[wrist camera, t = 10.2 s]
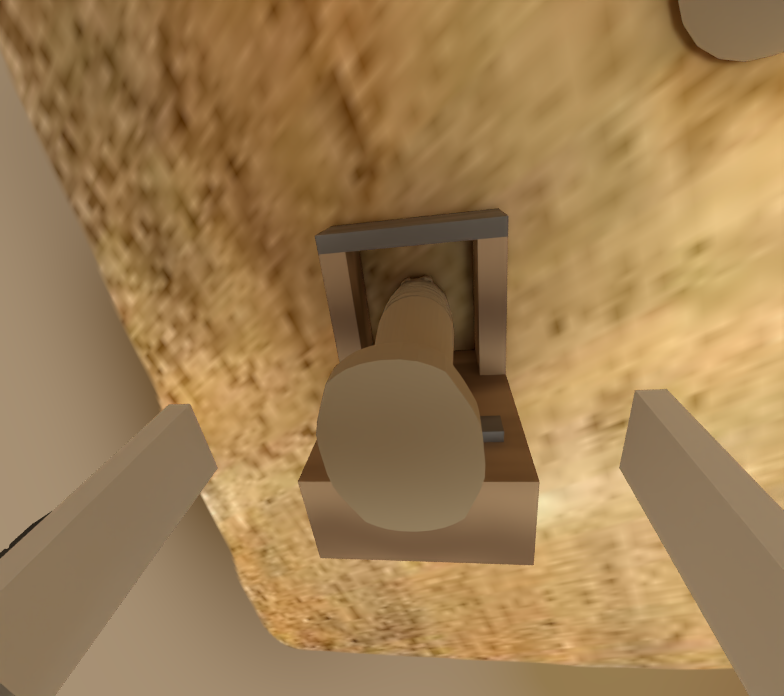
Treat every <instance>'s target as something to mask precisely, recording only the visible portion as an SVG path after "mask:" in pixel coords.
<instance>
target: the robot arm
mask: <svg viewBox="0 0 784 696" xmlns="http://www.w3.org/2000/svg"><path fill="white" fill-rule="evenodd" d="M619 468H620V470H621V472H622V473H623V475H624V477H625V479H626V480H627V482H628V484H629V486H630V487H631V489H632V491H633V493H634V494H635V496H636V498H637V500H638V501H639V503H640V505H641V507H642V508H643V510H644V512H645V514H646V515H647V517H648V519H649V521H650V522H651V524H652V526H653V528H654V529H655V531H656V533H657V535H658V536H659V538H660V540H661V542H662V544H663V545H664V547H665V549H666V551H667V552H668V554H669V556H670V558H671V559H672V561H673V563H674V565H675V566H676V568H677V570H678V572H679V573H680V575H681V577H682V579H683V580H684V582H685V584H686V586H687V587H688V589H689V591H690V593H691V594H692V596H693V598H694V600H695V601H696V603H697V605H698V607H699V608H700V610H701V612H702V614H703V615H704V617H705V619H706V621H707V623H708V624H709V626H710V628H711V630H712V631H713V633H714V635H715V637H716V638H717V640H718V642H719V644H720V645H721V647H722V649H723V651H724V652H725V654H726V656H727V658H728V659H729V661H730V663H731V665H732V666H733V668H734V670H735V672H736V673H737V675H738V677H739V679H740V680H741V682H742V684H743V686H744V687H745V689H746V691H747V693H748V694H749V696H784V510H783V509H782V508H781V507H780V506H779V505H778V504H777V503H776V502H775V501H774V500H773V499H772V498H771V497H770V496H769V495H768V494H767V493H766V492H765V491H764V490H763V489H762V488H761V486H760V485H759V484H758V483H757V482H756V481H755V480H754V479H753V478H752V477H751V476H750V475H749V474H748V473H747V472H746V471H745V470H744V469H743V468H742V467H741V466H740V465H739V464H738V463H737V462H736V461H735V459H734V458H733V457H732V456H731V455H730V454H729V453H728V452H727V451H726V450H725V449H724V448H723V447H722V446H721V445H720V444H719V443H718V442H717V441H716V440H715V439H714V438H713V437H712V436H711V435H710V434H709V433H708V431H707V430H706V429H705V428H704V427H703V426H702V425H701V424H700V423H699V422H698V421H697V420H696V419H695V418H694V417H693V416H692V415H691V414H690V413H689V412H688V411H687V410H686V409H685V408H684V407H683V406H682V404H681V403H680V402H679V401H678V400H677V399H676V398H675V397H674V396H673V395H672V394H671V393H670V392H669V391H668V390H667V389H660V390H635V393H634V398H633V403H632V408H631V413H630V418H629V423H628V428H627V433H626V438H625V443H624V447H623V452H622V457H621V462H620V467H619ZM217 469H218V467H217V465H216V463H215V461H214V458H213V456H212V454H211V451H210V449H209V447H208V444H207V442H206V440H205V437H204V435H203V433H202V430H201V428H200V426H199V423H198V421H197V419H196V416H195V414H194V412H193V409H192V407H191V405H190V404H171V405H168V406H167V407H166V408H165V409H163V410H162V411H161V412H160V413H159V414H158V415H157V416H156V417H155V418H154V419H152V420H151V421H150V422H149V423H148V424H147V425H146V426H145V427H144V428H143V429H142V430H141V431H139V432H138V433H137V434H136V435H135V436H134V437H133V438H132V439H131V440H130V441H128V442H127V443H126V444H125V445H124V446H123V447H122V448H121V449H120V450H119V451H118V452H116V453H115V454H114V455H113V456H112V457H111V458H110V459H109V460H108V461H107V462H105V463H104V464H103V465H102V466H101V467H100V468H99V469H98V470H97V471H96V472H95V473H93V474H92V475H91V476H90V477H89V478H88V479H87V480H86V481H85V482H84V483H83V484H81V485H80V486H79V487H78V488H77V489H76V490H75V491H74V492H73V493H72V494H71V495H69V496H68V497H67V498H66V499H65V500H64V501H63V502H62V503H61V504H60V505H58V506H57V507H56V508H55V509H54V510H53V511H51V512H50V513H48V514H47V515H45V516H44V517H42V518H41V519H39V520H38V521H36V522H35V523H33V524H32V525H31V526H30V527H29V528H27V529H26V530H25V531H24V532H23V533H22V534H21V535H20V536H18V537H17V538H16V539H15V540H14V541H13V542H12V543H11V544H10V545H9V548H8V549H4V550H3V551H2V552H1V553H0V696H55V695H56V694H57V692H58V691H59V690H60V688H61V687H62V685H63V683H65V681H66V680H67V678H68V677H69V676H70V674H71V673H72V671H73V670H74V669H75V667H76V666H77V664H78V663H79V662H80V660H81V659H82V657H83V656H84V655H85V653H86V652H87V650H88V649H89V648H90V646H91V645H92V643H93V642H94V641H95V639H96V638H97V636H98V635H99V634H100V632H101V631H102V629H103V628H104V627H105V625H106V624H107V622H108V621H109V620H110V618H111V617H112V615H113V614H114V613H115V611H116V610H117V608H118V607H119V605H120V604H121V603H122V601H123V600H124V599H125V597H126V596H127V594H128V593H129V592H130V590H131V589H132V587H133V586H134V585H135V583H136V582H137V580H138V579H139V578H140V576H141V575H142V573H143V572H144V571H145V569H146V568H147V566H148V565H149V564H150V562H151V561H152V559H153V558H154V557H155V555H156V554H157V552H158V551H159V550H160V548H161V547H162V546H163V544H164V543H165V541H166V540H167V538H168V537H169V536H170V534H171V533H172V532H173V530H174V529H175V527H176V526H177V524H178V523H179V522H180V520H181V519H182V517H183V516H184V515H185V513H186V512H187V511H188V509H189V508H190V506H191V505H192V503H193V502H194V501H195V499H196V498H197V497H198V495H199V494H200V492H201V491H202V490H203V488H204V487H205V485H206V484H207V483H208V481H209V480H210V478H211V477H212V476H213V474H214V473H215V471H216V470H217Z"/></svg>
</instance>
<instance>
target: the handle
mask: <svg viewBox="0 0 784 696" xmlns="http://www.w3.org/2000/svg"><path fill="white" fill-rule="evenodd" d="M453 347H454V328H453V320H452V315H451V311H450V307H449V304H448V301H447V298H446V295H445V293H444V292H443V291H442V290H440V288H439V287H437V286H436V285H435V284H434V283H433V281H432V278H431V277H430V276H427V275H424V276H423V277H421V278H417V279H412V278H406V279H405V280H404V281H402V282H401V284H400V287H399V288H398V289H397V290H396V291H395V292H394V293H393V295H392V296H391V298H390V299H389V301H388V303H387V304H386V306H385V309H384V311H383V314H382V316H381V319H380V321H379V326H378V331H377V336H376V340H375V345H373V346H369V347H366V348H363V349H361V350H358V351H355V352H354V353H352V354H351V355H349V356H348V357H346V358H345V359H343V360H342V361H341V362H340V363H339V364H338V365H336V367H335V368H334V369H333V371H332V373H331V375H330V377H329V379H328V381H327V383H326V385H325V389H324V393H323V398H322V402H321V406H320V410H319V415H318V420H317V430H316V437H317V442H318V447H319V450H320V454H321V457H322V460H323V463H324V466H325V469H326V472H327V475H328V477H329V479H330V481H331V484H332V485H333V487H334V488H335V489H336V491H337V492H338V493H339V495H340V496H341V497H342V498H343V499H344V500H345V501H346V502H347V503H348V505H349V506H350V507H351V508H352V509H353V510H354V511H355V512H356V513H357V514H358V515H359V516H360V517H361V518H362V519H363V520H364V521H365V522H367V523H370V524H372V525H375V526H378V527H381V528H385V529H389V530H396V531H411V532H418V531H430V530H436V529H440V528H445V527H448V526H450V525H453V524H455V523H457V522H459V521H461V520H463V519H465V517H466V516H467V514H468V512H469V510H470V508H471V507H472V505H473V503H474V501H475V499H476V497H477V495H478V493H479V492H480V490H481V487H482V484H483V481H484V478H485V455H484V444H483V434H482V426H481V420H480V414H479V409H478V405H477V402H476V400H475V398H474V396H473V395H472V393H471V391H470V390H469V388H468V386H467V384H466V383H465V381H464V380H463V378H462V377H461V375H460V374H459V373H458V371H457V370H456V368H455V367H454V366H453Z"/></svg>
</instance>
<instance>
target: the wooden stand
mask: <svg viewBox="0 0 784 696" xmlns="http://www.w3.org/2000/svg"><path fill="white" fill-rule="evenodd" d="M315 239H316V245H317V250H318V255H319V260H320V265H321V270H322V275H323V280H324V285H325V290H326V296H327V301H328V306H329V311H330V316H331V321H332V326H333V331H334V336H335V342H336V347H337V352H338V357H339V362H341V361H342V360H343V359H345V358H346V357H348V356H349V355H351V354H352V353H354V352H355V351H358V350H361V349H363V348H366V347H369V346H373V339H372V332H371V326H370V319H369V312H368V305H367V299H366V292H365V285H364V279H363V272H362V265H361V259H360V252H359V251H361V250H372V249H382V248H393V247H404V246H414V245H425V244H435V243H446V242H456V241H467V240H473V281H474V326H475V350H460V351H453V366H454V367H455V368H456V370H457V371H458V373H459V374H460V375H461V377H462V378H463V380H464V381H465V383H466V384H467V386H468V388H469V390H470V391H471V393H472V395H473V396H474V398H475V400H476V402H477V405H478V409H479V414H480V420H481V426H482V434H483V444H484V455H485V478H484V481H483V484H482V487H481V490H480V492H479V493H478V495H477V497H476V499H475V501H474V503H473V505H472V507H471V508H470V510H469V512H468V514H467V516H466V517H465V519H463V520H461V521H459V522H457V523H455V524H453V525H450V526H448V527H445V528H440V529H436V530H430V531H418V532H411V531H396V530H389V529H385V528H381V527H378V526H375V525H372V524H370V523H367V522H365V521H364V520H363V519H362V518H361V517H360V516H359V515H358V514H357V513H356V512H355V511H354V510H353V509H352V508H351V507H350V506H349V505H348V503H347V502H346V501H345V500H344V499H343V498H342V497H341V496H340V495H339V493H338V492H337V491H336V489H335V488H334V487H333V485H332V484H331V481H330V479H329V477H328V475H327V472H326V469H325V466H324V463H323V460H322V457H321V454H320V450H319V447H318V442H317V440H316V443H315V445H314V447H313V449H312V451H311V454H310V456H309V458H308V460H307V463H306V465H305V467H304V469H303V471H302V474H301V476H300V478H299V480H298V484H299V487H300V490H301V494H302V497H303V501H304V504H305V507H306V511H307V514H308V518H309V521H310V524H311V528H312V531H313V535H314V538H315V541H316V545H317V548H318V552H319V555H320V558H337V559H366V560H396V561H425V562H454V563H484V564H513V565H534V552H535V538H536V524H537V510H538V496H539V479H538V476H537V473H536V469H535V466H534V463H533V460H532V457H531V453H530V450H529V447H528V444H527V441H526V438H525V434H524V431H523V428H522V425H521V422H520V418H519V415H518V412H517V409H516V406H515V402H514V399H513V396H512V393H511V390H510V387H509V383H508V380H507V377H506V324H507V265H508V215H507V214H505V213H504V212H502V211H501V210H500V209H489V210H480V211H471V212H461V213H452V214H442V215H433V216H424V217H414V218H405V219H396V220H386V221H377V222H367V223H358V224H349V225H339V226H331V227H330V228H328V229H326V230H324V231H322V232H321V233H319V234H317V235H315Z"/></svg>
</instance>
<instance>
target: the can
mask: <svg viewBox="0 0 784 696" xmlns="http://www.w3.org/2000/svg"><path fill="white" fill-rule="evenodd" d="M678 3H679V8H680V13H681V18H682V22H683V25H684V27H685V28H686V30H687V31H688V33H689V34H690V36H691V37H692V39H693V40H694V42H695V43H696V45H697V46H698V47H700V48H701V49H703V50H705V51H706V52H708V53H710V54H711V55H713V56H715V57H716V58H718V59H724V60H733V61H742V62H747V61H751V60H756V59H760V58H764V57H769V56H773V55H777V54H780V53H783V52H784V0H678Z"/></svg>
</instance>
